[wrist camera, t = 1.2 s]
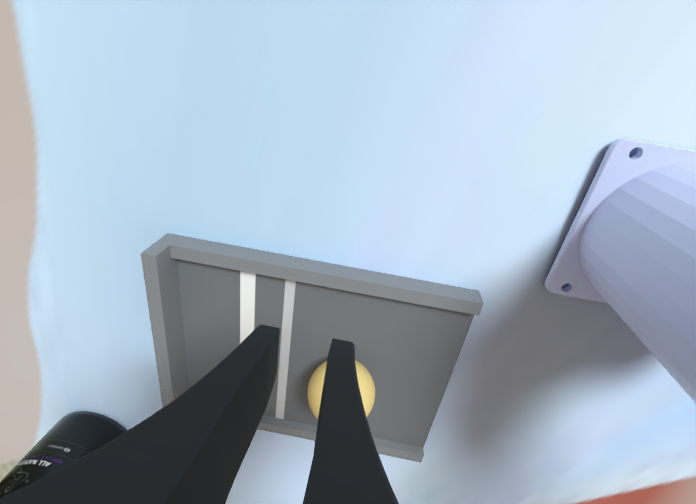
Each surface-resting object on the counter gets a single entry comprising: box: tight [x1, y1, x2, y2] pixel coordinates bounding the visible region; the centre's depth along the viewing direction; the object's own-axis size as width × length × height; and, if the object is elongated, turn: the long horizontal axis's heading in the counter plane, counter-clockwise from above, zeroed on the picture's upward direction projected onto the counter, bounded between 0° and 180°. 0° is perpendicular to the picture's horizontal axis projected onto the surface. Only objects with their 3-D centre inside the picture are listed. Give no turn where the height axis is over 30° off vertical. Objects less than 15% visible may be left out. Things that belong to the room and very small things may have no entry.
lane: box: [141, 234, 483, 462], centre depth 23 cm, size 18×14×2 cm
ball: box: [308, 360, 375, 419], centre depth 22 cm, size 4×4×4 cm
